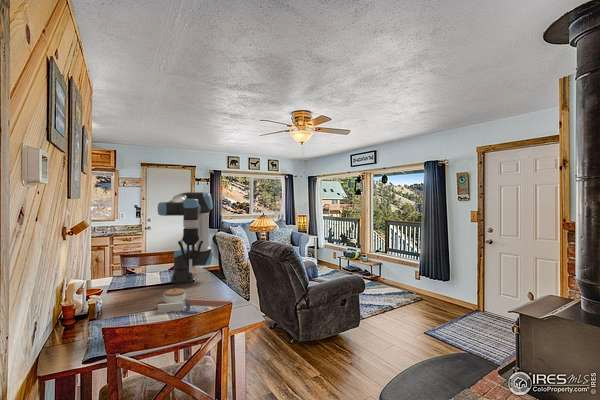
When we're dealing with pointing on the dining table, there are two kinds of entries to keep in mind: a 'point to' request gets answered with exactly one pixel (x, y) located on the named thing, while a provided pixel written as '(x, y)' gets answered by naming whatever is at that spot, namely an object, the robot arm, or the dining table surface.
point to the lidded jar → (174, 295)
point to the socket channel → (171, 306)
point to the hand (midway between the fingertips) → (190, 271)
